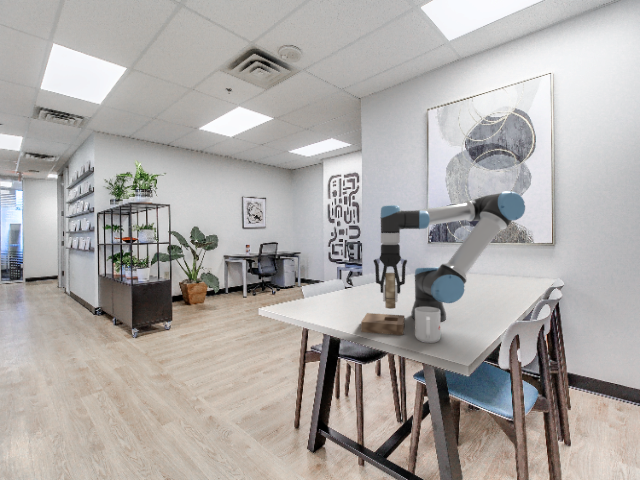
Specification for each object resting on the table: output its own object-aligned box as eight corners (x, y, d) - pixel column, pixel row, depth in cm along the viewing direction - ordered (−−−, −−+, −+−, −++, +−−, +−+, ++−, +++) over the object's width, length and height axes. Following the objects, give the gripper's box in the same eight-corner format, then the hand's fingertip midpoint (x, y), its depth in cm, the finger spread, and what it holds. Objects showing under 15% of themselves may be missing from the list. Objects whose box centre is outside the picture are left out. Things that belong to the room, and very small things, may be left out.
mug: (415, 334, 123) (414, 305, 123) (439, 336, 121) (439, 307, 120) (414, 345, 112) (414, 313, 111) (442, 347, 109) (441, 315, 109)
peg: (395, 306, 132) (395, 272, 132) (395, 308, 128) (395, 274, 128) (385, 306, 133) (385, 272, 133) (384, 308, 129) (384, 273, 129)
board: (404, 324, 136) (404, 315, 136) (402, 335, 123) (402, 324, 123) (366, 322, 141) (366, 313, 141) (361, 331, 127) (361, 321, 127)
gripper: (412, 243, 131) (412, 300, 132) (370, 243, 136) (370, 298, 137) (411, 244, 124) (412, 304, 124) (367, 244, 129) (368, 301, 129)
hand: (390, 301), depth 130 cm, fingers closed on peg, 4 cm apart
